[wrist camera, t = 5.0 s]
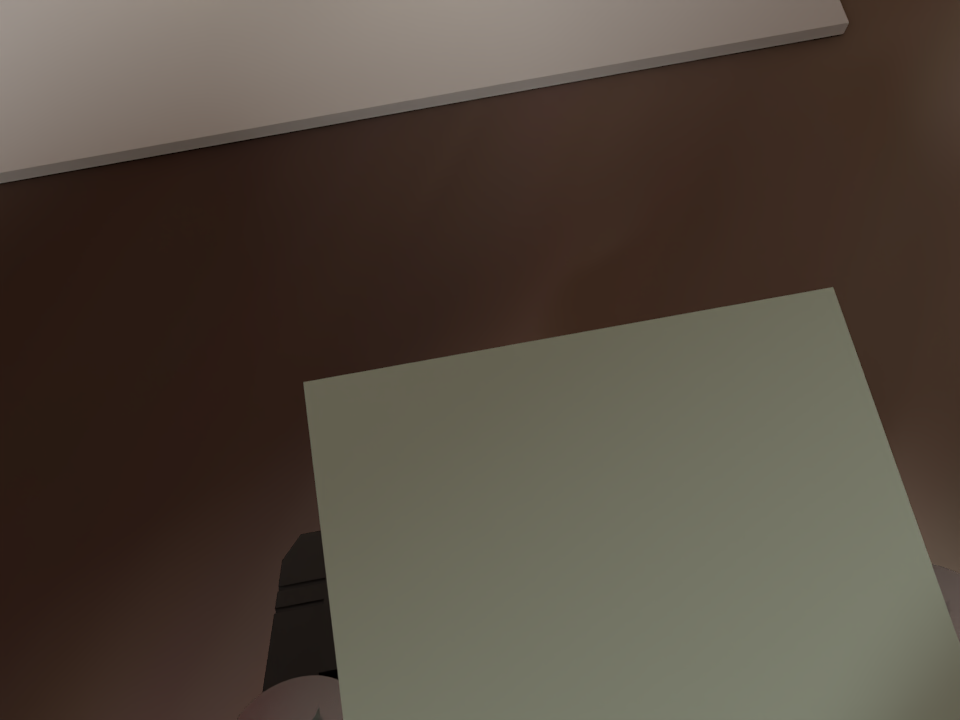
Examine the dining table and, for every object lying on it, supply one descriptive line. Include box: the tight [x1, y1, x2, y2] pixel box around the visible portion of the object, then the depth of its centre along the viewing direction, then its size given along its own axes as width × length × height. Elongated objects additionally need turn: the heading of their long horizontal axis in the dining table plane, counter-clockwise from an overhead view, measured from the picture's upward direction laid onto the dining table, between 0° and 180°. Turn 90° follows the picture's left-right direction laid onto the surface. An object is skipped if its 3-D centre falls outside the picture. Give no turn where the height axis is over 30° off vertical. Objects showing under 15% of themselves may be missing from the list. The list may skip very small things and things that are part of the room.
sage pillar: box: [303, 287, 960, 720], centre depth 12 cm, size 4×4×11 cm
